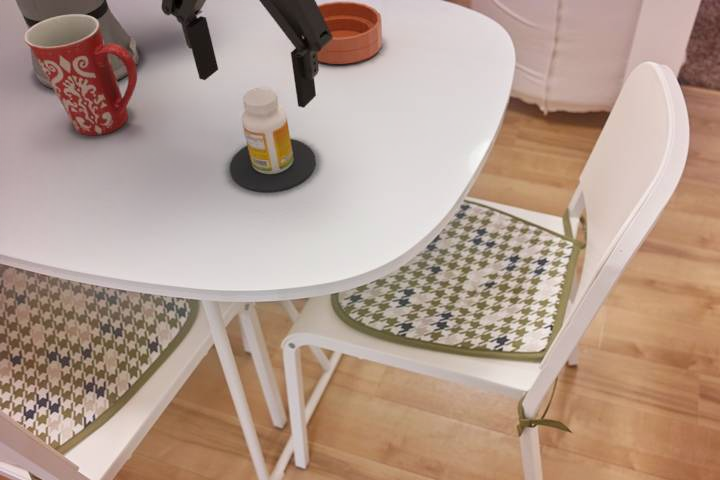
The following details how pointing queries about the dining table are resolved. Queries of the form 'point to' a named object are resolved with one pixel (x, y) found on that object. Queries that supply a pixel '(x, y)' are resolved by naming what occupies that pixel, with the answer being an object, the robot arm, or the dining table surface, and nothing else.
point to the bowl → (350, 32)
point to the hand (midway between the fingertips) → (256, 87)
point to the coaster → (273, 182)
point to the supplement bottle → (266, 132)
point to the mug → (83, 71)
